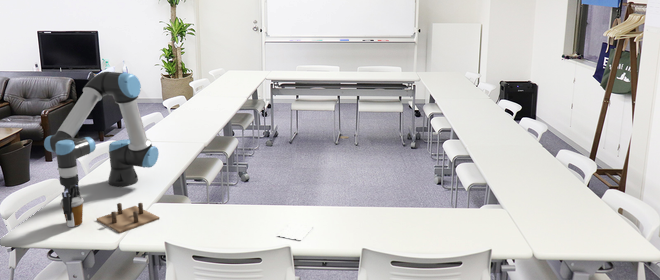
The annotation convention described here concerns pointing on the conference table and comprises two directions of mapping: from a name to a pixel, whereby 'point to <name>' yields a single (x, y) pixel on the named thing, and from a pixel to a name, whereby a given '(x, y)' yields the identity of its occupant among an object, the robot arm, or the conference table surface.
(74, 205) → the disposable coffee cup
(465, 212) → the conference table surface
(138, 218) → the holder
